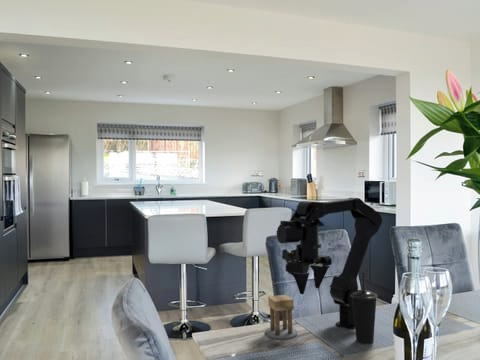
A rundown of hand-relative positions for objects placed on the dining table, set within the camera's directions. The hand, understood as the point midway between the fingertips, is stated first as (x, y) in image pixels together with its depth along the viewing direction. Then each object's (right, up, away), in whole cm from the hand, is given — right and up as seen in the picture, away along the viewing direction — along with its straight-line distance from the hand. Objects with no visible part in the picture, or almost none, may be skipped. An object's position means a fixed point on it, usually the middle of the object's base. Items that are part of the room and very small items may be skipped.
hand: (309, 291), depth 132 cm
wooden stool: (-9, -13, 0) cm, 15 cm away
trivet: (-9, -13, 0) cm, 16 cm away
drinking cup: (+15, -13, -7) cm, 21 cm away
